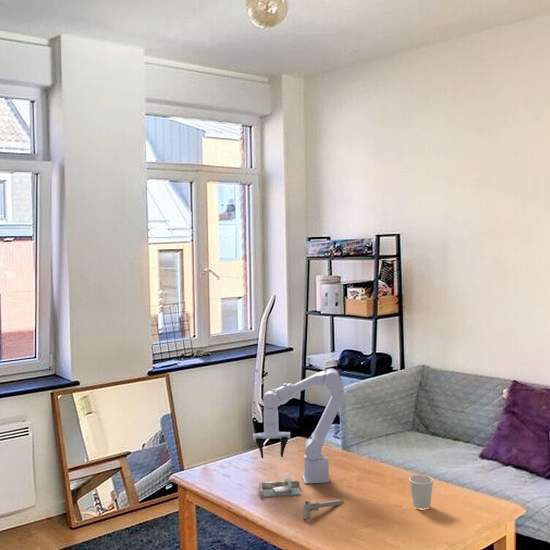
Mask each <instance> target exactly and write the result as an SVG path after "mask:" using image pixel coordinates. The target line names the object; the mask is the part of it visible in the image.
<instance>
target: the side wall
mask: <svg viewBox="0 0 550 550" xmlns="http://www.w3.org/2000/svg"><path fill="white" fill-rule="evenodd" d="M258 493H259V498H260V499H263V489H262V484H261V483H260V482H258Z"/></svg>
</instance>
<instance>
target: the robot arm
mask: <svg viewBox="0 0 550 550" xmlns="http://www.w3.org/2000/svg"><path fill="white" fill-rule="evenodd" d="M314 386H319V387H323V388H324V386H325V387H326V389H328V390H329V392H330V395H331V396H330V398H329V401H328V402H327V404H326V407H325V408H324V410H323V412H322V415H321V417H320V419H319V420H318V423H317V425H316V427H315V429H314V431H313V432H312V433H311V435H310V436H309V438H307V439H306V440H305V442H304V453H305V454H304V455H303V470H304V475H302V480H303V482H304V484H306V485H307V484H325V483H330V476H329V475H330V471H329V466H330V465H329V459H328V456H323V454H322V448H323V446H324V442H325V441H326V438H327V437H326V436H327V434H328V433H329V431H330V428H331V427H332V424H333V422H334V420H335V418H336V416H337V414H338V412H339V410H340V408H341V406H342V404H343V402H344V400H345V397H346V396H345V391H344V390H345V389H344V384H343V380H342V378H341V375H340V373H339V372H338V370H336V369H335V368H331V367H330V368H327V369H325V370H322V371H321V370H320V371H319V372H316V373H314V374H312V375H310V376H308V377H306V378H304V379H302V380H301V381H298V382H296V383H290V382H289V383H287V382H284V383H283V384H282V386H279V387H278V388H272V390H268V391H266V392H265V393H264V395H263V397H262V404H263V432H257V433H252V440H253V441H255V443H256V445H257V447H258V450H259V452H260V458H261V459H263V458H264V450H263V447H264V445H263V443H264V442H263V440H269V439H271V440H272V439H280V458H283V457H284V452H285V448H286V446H287V444H288V441H289V440H288V439H291V431H280V429H279V425H280V424H279V410H278V404H282V403H284V402H286V401H288V400H291V399H294V398H295V397H296V396H297V393H299V392H301V391H304V390H307V389H309V388H312V387H314Z"/></svg>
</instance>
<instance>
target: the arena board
mask: <svg viewBox="0 0 550 550" xmlns="http://www.w3.org/2000/svg"><path fill="white" fill-rule="evenodd" d="M272 488H275V487H272ZM272 488H262V489H263V497H267V498H280V497H295V496H296V497H298V496H299V495H301V496H302V493H301V490H300V487H298V486H291V492H288V493H281V494H275V493H274V492H273V489H272Z"/></svg>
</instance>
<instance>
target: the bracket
mask: <svg viewBox="0 0 550 550" xmlns="http://www.w3.org/2000/svg"><path fill="white" fill-rule="evenodd" d="M283 477H284V478H283V481H284V483H285V486H282V487H275V488H272V489H273V492H274V493H275V494H281V493H288V492H291V480H292V479H290V478H289V476H283Z"/></svg>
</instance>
